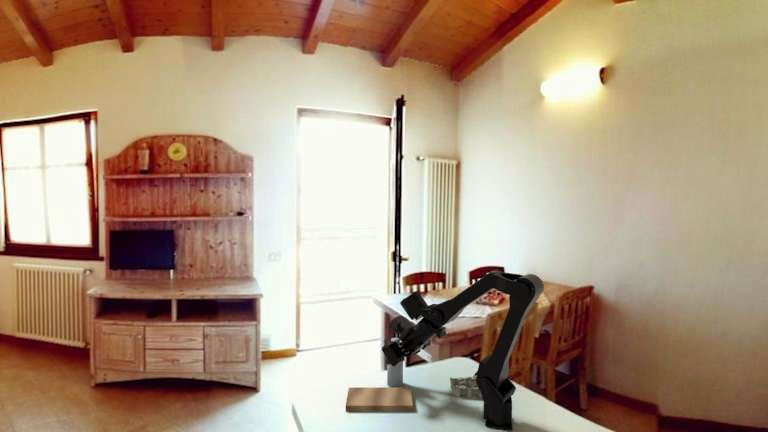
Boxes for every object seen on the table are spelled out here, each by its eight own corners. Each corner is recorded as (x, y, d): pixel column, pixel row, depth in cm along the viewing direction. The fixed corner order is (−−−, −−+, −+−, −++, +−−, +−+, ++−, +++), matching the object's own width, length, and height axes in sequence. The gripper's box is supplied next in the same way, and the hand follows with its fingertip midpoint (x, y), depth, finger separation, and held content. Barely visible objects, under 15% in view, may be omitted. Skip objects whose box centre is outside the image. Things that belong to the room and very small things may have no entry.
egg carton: (485, 387, 118) (485, 374, 118) (488, 400, 110) (488, 386, 110) (449, 384, 119) (449, 371, 119) (450, 396, 112) (450, 383, 112)
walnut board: (410, 392, 114) (410, 387, 114) (412, 411, 104) (412, 405, 104) (348, 392, 114) (348, 387, 114) (345, 411, 104) (345, 405, 104)
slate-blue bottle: (404, 381, 121) (404, 337, 120) (401, 388, 116) (401, 342, 116) (389, 379, 122) (389, 335, 121) (385, 386, 117) (385, 341, 117)
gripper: (422, 303, 123) (394, 330, 130) (387, 317, 108) (357, 346, 115) (444, 332, 119) (414, 359, 126) (410, 351, 104) (378, 380, 111)
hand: (391, 360), depth 120 cm, fingers closed on slate-blue bottle, 5 cm apart
